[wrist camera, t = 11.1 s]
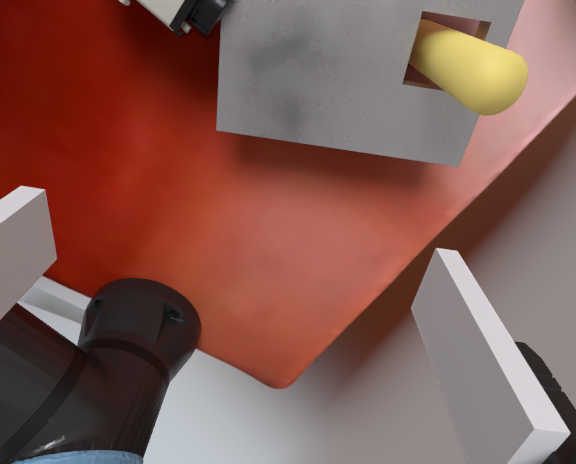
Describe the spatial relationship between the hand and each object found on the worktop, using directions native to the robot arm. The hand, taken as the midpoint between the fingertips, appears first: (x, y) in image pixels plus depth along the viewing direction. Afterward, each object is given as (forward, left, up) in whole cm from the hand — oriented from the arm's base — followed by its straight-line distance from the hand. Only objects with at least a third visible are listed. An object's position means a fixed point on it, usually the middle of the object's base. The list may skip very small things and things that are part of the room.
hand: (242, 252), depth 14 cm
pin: (+5, -11, -27) cm, 30 cm away
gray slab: (+5, -5, -28) cm, 29 cm away
